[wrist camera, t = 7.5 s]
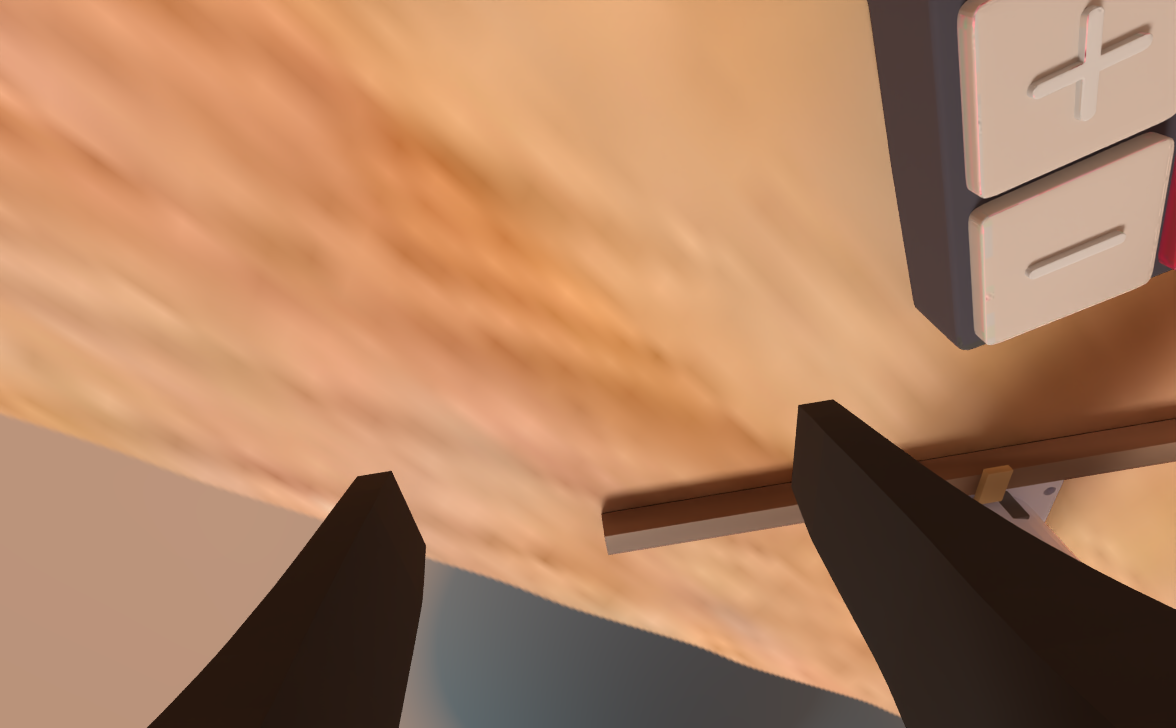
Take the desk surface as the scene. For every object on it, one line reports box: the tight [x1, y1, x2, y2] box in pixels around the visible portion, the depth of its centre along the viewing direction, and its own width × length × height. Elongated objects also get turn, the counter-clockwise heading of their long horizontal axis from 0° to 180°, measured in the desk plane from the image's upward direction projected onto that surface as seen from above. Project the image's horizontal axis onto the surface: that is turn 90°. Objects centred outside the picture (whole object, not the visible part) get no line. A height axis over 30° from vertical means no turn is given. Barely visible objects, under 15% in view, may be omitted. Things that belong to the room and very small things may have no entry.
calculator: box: [867, 0, 1176, 350], centre depth 14 cm, size 11×4×15 cm
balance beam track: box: [602, 419, 1176, 555], centre depth 17 cm, size 33×32×2 cm
